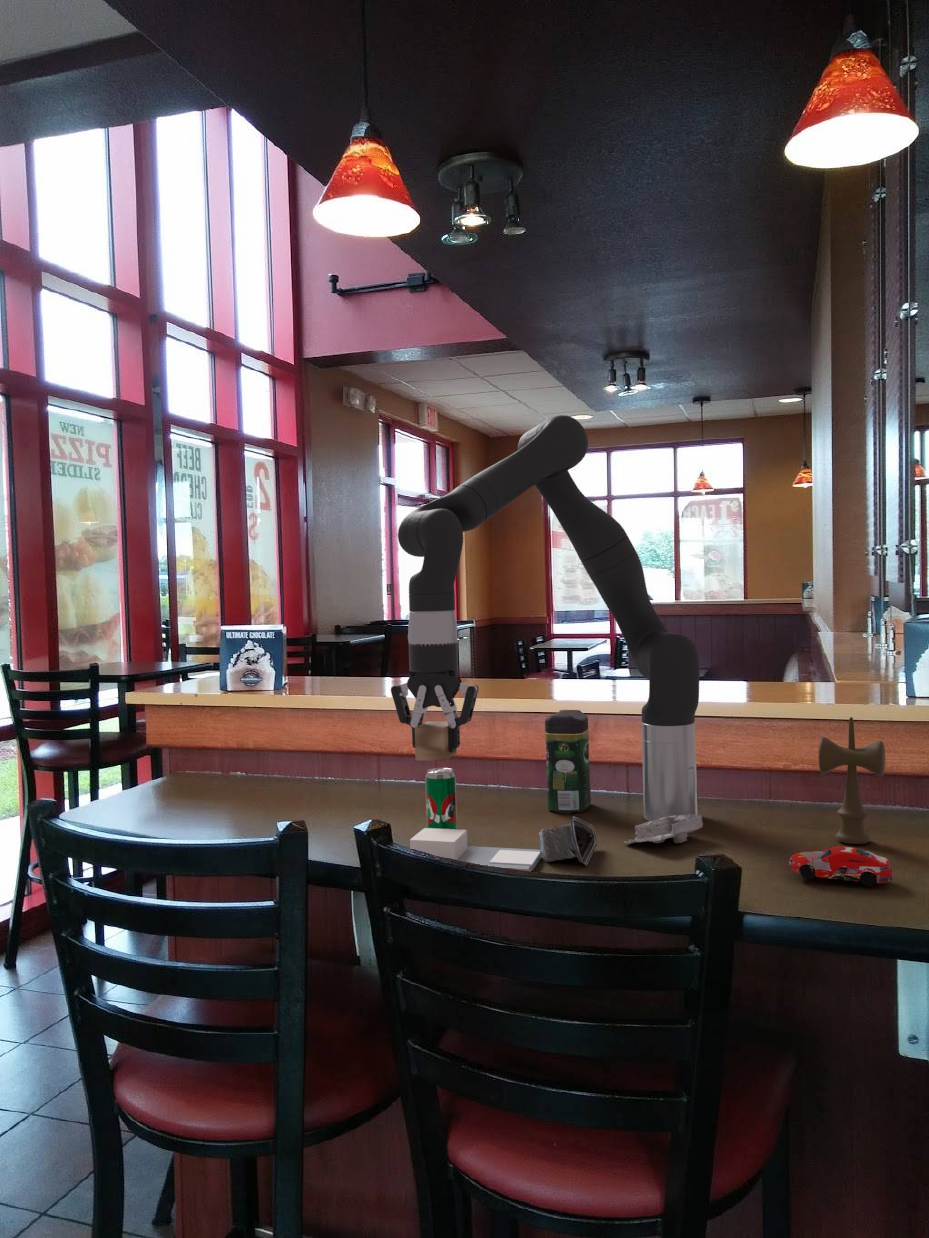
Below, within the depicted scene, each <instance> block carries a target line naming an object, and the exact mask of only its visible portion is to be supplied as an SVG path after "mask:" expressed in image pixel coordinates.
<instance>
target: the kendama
mask: <svg viewBox="0 0 929 1238" xmlns="http://www.w3.org/2000/svg"><path fill="white" fill-rule="evenodd" d="M855 736H856V735H855V723H854V717H852V716H851V717H849V720H848V742H847V743H848V745H847V747H845V746H844V747H843V746H841V745H838V744H837V743H835V742H833V740H831V739H829V738H827V737H825V736H822V737H821V738H820V740H819V744H818V766H819V772H820V773H821V775H826V774H828V773H830V772H831V771H833V770H835V769H837V768H839V767H843V766H847V770H846V771H847V772H846V782H845V789H844V796H843V801H842V805H841V807H840V808H838V809H837V810H836V812H837V815H838V816H839V818H840V827H839V830H838V832H837V833H836V834H835V839H836V840H837V841H839V842H841V843H843V844H848V845H865V844H868V843H870V841H871V840H872V839H871V836H870V835H869V834H868V833H867V831H866V826H865V824H866V823H865V822H866V821H865V820H866V818H867V817H868V816H869V811H867V810H866V809H865V808H864V806H863V802H862V798H861V792H860V786H859V785H860V784H859V777H858V770H857V769H858V768H857V767H859V768H863V769H865V770H867V771H869V772H871V773H872V774H874V775H876V776H878V777H882V776H884V774H885V770H886V748H885V744H884V742H883V741H882V740H879V741H875V742H873V743H872V744H869V745H867V746H864V747H858V748H857V747H856V738H855Z"/></svg>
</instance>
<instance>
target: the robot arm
mask: <svg viewBox="0 0 929 1238" xmlns="http://www.w3.org/2000/svg"><path fill="white" fill-rule="evenodd" d="M588 448H589V440H588V435H587V432H586V429H585V427H584V426H583V425H582V423H581V422H580V421H579V420H577V419H576V418H574V417H572V416H570V415H563V414H562V415H556V416H552V417H550V418H548V419H546V420H544V421H542V422H541V423H539V424H537V425H536V426H534V427H533V428H531V429H529V430H528V431H526V432H524V433H523V434H522V435H521V437H520V439H519V441H518V443H517V451H515V452H513V453H512V454H510V455H508V456H507V457H505V458H503V459H501V460H499V461H498V462H496V463H494V464H493V465H490V466H489V467H487V468H485V469H483V470H481V471H480V472H478V473H477V474H474V475H473V476H472V477H470V478H468V479H467V480H466V481H464V482H462V483H461V484H460V485H458V486H457V487H455V488H454V489H453V490H452V491H450V492H448V493H447V494H445V495H444V496H441V497H439V498H436V499H434V500H432V501H430V502H428V503H426V504H424V505H422V506H420V507H418V508H416V509H414V510H412V511H411V512H409V513H408V514H407V515H406V516H405V517H404V518H403V520H402V521H401V523H400V525H399V527H398V529H397V530H398V532H397V540H398V543H399V545H400V548H401V549H402V550H403V551H404V552H405V553H407V554H408V555H410V556H413V557H417V558H423V561H422V567H421V569H420V571H419V572H416V573H415V574H413V575H412V576H411V577H410V578H409V582H408V605H409V608H408V609H409V617H408V627H407V631H408V633H407V641H408V663H409V677H408V679H407V682H406V683H401V684H400V683H399V684H395V685H393V686H391V688H390V693H391V696H392V699H393V703H394V707H395V710H396V713H397V717H398V719H399V722H400V724H406V725H407V726H410V727H411V739H412V747H413V749H415V727H417V726H419V725H421V724H423V723H424V720H425V716H426V713H427V711H428V708H429V707H437V708H441V712H442V713H443V715H444V717H445V720H446V722H448V725H449V728H448V750H449V752H452V753H453V752H455V751H456V749H458V748H459V747H460V745H461V726H462V725H465V724H468V723H469V722H471V721H472V717H473V714H474V709H475V706H476V702H477V697H478V693H479V689H480V688H479V687H480V686H478V685H477V684H470V683H469V684H468V683H466V682H462V679H461V677H460V675H459V643H458V640H459V639H458V623H457V621H458V620H457V617H456V598H455V597H456V594H455V591H456V590H455V581H456V578H457V575H458V570H459V564H460V560H461V555H462V551H463V545H464V532H469V531H472V530H475V529H477V528H478V527H481V526H482V525H483V524H484V523H485V522H487V521H488V520H490V519H491V518H493V517H494V516H495V515H497V514H498V513H500V512H501V511H503V509H505V508H506V507H508V506H509V505H510V504H512V503H513V502H514V501H515V500H517V499H518V498H519V497H520V496H522V495H523V494H524V493H526V492H527V491H529V489H530V488H532V487H533V486H535V488H536V490H538V492H539V493H540V495H541V496H542V498H543V499H544V500H545V502H546V504H547V505H548V506H549V508H550V509H551V511H552V512H553V514H554V515H555V517H556V520H557V521H558V522H559V524H560V526H561V528H562V530H563V531H564V533H565V534H566V536H567V538H568V539H569V541H570V543H571V545H572V547H573V548H574V550H575V552H576V555H577V557H578V558H579V560H580V562H581V563H582V566H583V568H584V569H585V571H586V573H587V575H588V577H589V578H590V580H591V581H592V583H593V585H594V587H595V588H596V590H597V592H598V594H599V595H600V597H601V599H602V600H603V602H604V604H605V605H606V608H607V609H608V610H609V612H610V614H611V615H612V616H613V617H612V618H613V619H614V620H615V622H616V624H617V626H618V628H619V630H620V632H621V634H622V637H623V640H624V641H625V644H626V647H627V648H628V651H629V654H630V656H631V659H632V661H633V664H634V666H635V667H636V669H637V671H638V672H639V674H641V675H642V677H644V678H646V679H647V680H648V681H649V683H648V684H649V685H648V686H649V689H648V691H649V693H648V700H647V702H646V703H645V704H644V705H643V706H642V708H641V745H642V746H641V749H642V750H641V751H642V752H641V754H642V794H643V796H642V797H643V798H642V799H643V805H642V806H643V818H644V819H645V820H646V821H647V822H649V821H653V820H658V819H659V818H663V817H666V816H673V815H688V814H689V815H691V814H696V815H698V789H697V788H698V785H697V783H698V781H697V780H698V779H697V777H698V776H697V761H696V724H695V723H696V717H695V716H696V712H697V709H698V706H699V702H700V701H699V700H700V657H699V653H698V649H697V646H696V645H695V643H694V642H693V640H692V639H691V638H690V637H689V636H687V635H684V634H682V633H680V632H679V633H677V632H672V631H671V632H670V631H669V630H668V628H666V626H665V625H664V623H663V622H662V620H661V618H660V616H659V615H658V614H657V611H656V610H655V609H654V606H653V604H652V602H651V600H650V598H649V593H648V589H647V583H646V580H645V573H644V569H643V565H642V561H641V558H640V557H639V554H638V552H637V550H636V548H635V547H634V544H633V543H632V541H631V538H629V536H628V533H627V532H626V530H625V529H624V527H623V526H622V525H621V524H620V523H619V521H617V519H615V518H614V517H613V516H611V515H610V514H609V513H607V512H606V511H605V510H603V509H602V508H601V507H599V506H598V505H596V504H595V503H593V502H592V501H591V500H590V499H588V497H586V496H585V494H583V492H582V491H581V490H580V488H579V487H578V486H577V484H576V483H575V481H574V479H573V477H572V476H571V474H570V472H569V471H570V470H571V469H572V468H575V467H577V465H578V464H579V463H581V462H582V460H583V459H584V458H585V456H586V454H587V452H588ZM409 691H410V693H411V694H412V696H413V697H414V699H415V702H414V706H413V709H412V713H411V708H410V705H409V702H408V700H407V697H408V696H409ZM459 691H461V697H462V698H463V704H462V707H461V711H460V716H459V714H458V709H457V705H456V702H455V697H456V695H457V694H458V692H459Z"/></svg>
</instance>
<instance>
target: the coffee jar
mask: <svg viewBox="0 0 929 1238" xmlns="http://www.w3.org/2000/svg"><path fill="white" fill-rule="evenodd" d="M589 736H590V734H589V717H588V716H587V715H586V714H585V713H583V712H582V711H581V710H580V709H560V710H558V711H557V712H556V713H553V714H551V715H550V716H548V717H547V718H545V719H544V737H545V739H544V740H545V755H546V760H545V761H546V800H547V801H546V804H547V809H548V810H549V811H551V812H557V813H558V814H572V813H583V812H585V811H586V810H588V808H589V807H590V806H591V804H592V801H591V800H592V795H591V794H592V793H591V775H590V773H591V771H590V770H591V769H590V749H589V748H590V744H589V743H590V742H589V741H590V740H589V739H590V738H589Z"/></svg>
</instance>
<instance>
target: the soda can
mask: <svg viewBox="0 0 929 1238" xmlns="http://www.w3.org/2000/svg"><path fill="white" fill-rule="evenodd" d="M426 772H427V773H426V774H425V778H424V779H425V781H424V783H425V785H424V786H425V814H426V815H425V816H426V819H425V820H426V828H436V829H458V820H457V819H458V815H457V813H458V812H457V785H456V781H457V780H456V775H455V773H454V769H453V768H450V767H449V768H448V767H435V768H430V769H427V771H426Z"/></svg>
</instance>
